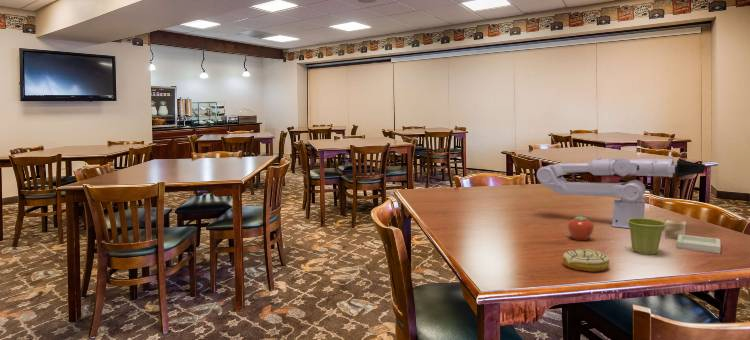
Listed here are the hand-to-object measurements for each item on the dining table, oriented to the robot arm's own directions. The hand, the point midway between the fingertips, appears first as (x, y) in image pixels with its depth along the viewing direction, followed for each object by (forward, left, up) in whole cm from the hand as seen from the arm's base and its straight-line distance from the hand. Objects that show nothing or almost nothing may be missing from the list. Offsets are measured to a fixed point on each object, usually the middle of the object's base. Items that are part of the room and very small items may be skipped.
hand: (704, 168), depth 142 cm
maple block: (-6, -9, -21) cm, 24 cm away
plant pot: (-12, -31, -21) cm, 39 cm away
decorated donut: (-23, -53, -22) cm, 61 cm away
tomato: (-30, -26, -21) cm, 45 cm away
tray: (0, -17, -21) cm, 27 cm away
